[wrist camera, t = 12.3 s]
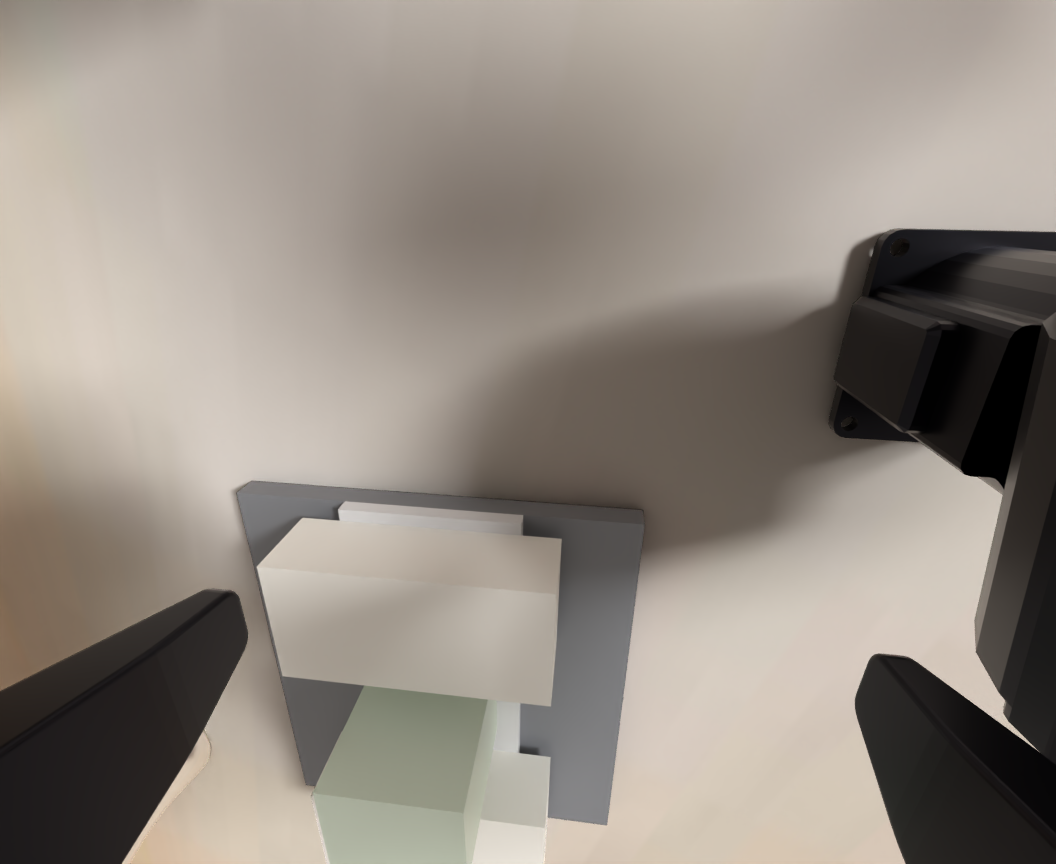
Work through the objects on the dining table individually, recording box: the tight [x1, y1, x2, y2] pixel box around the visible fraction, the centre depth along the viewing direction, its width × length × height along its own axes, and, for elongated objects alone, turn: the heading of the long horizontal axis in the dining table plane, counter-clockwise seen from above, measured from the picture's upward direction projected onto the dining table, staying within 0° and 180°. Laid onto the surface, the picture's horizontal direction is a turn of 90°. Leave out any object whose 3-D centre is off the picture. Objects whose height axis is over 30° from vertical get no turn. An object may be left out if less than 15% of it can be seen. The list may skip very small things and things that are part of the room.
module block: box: [313, 685, 497, 864], centre depth 20 cm, size 5×4×6 cm
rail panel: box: [237, 481, 645, 864], centre depth 22 cm, size 16×18×5 cm
